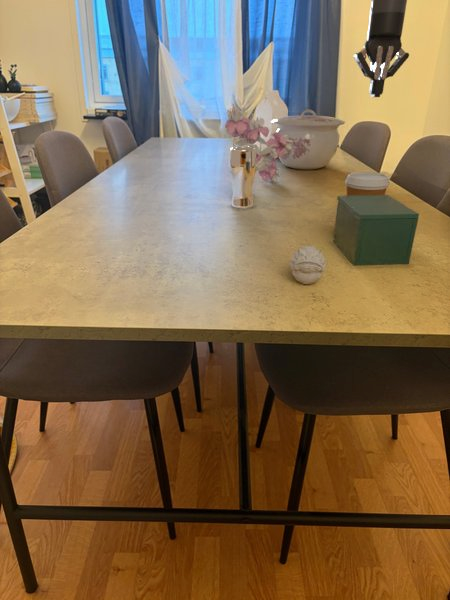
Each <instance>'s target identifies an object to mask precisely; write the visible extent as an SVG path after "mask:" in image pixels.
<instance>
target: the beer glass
mask: <svg viewBox="0 0 450 600" xmlns="http://www.w3.org/2000/svg"><path fill="white" fill-rule="evenodd" d="M229 153H230V154H229V174H230V175H229V176H230V182H231V189H232V197H231V202H230V203H231V204H230V205H231V207H232V208H235V209H250V208H252V207H254V200H253V188H254V183H255V179H256V167H257V165H256V160H257V159H256V148H254V147H240V146H234V147H233V146H232V147H230V152H229Z"/></svg>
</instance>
